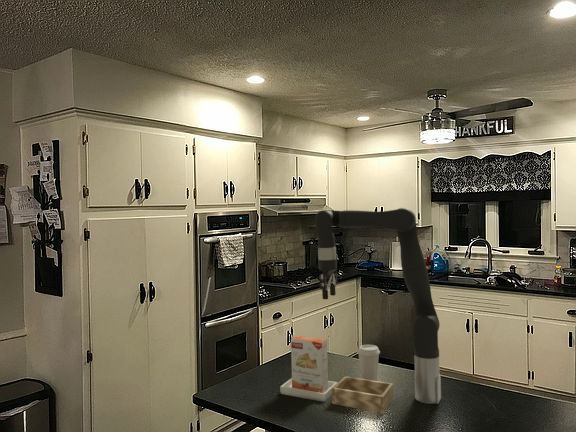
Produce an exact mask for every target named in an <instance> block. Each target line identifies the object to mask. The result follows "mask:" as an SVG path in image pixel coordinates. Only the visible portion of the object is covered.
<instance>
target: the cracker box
mask: <svg viewBox="0 0 576 432" xmlns="http://www.w3.org/2000/svg"><path fill="white" fill-rule="evenodd" d="M290 343H291V344H290V347H291V348H290V353H291V378H292V388H297V389H302V390H308V391H314V392H319V393H324V392H325V391H326V390H327V389H328V381H329V375H328V373H329V371H328V369H329V368H328V366H329V365H328V363H329V362H328V339H325V338H317V337H311V336H302V335H295V336H294V337H292V338H291V339H290Z"/></svg>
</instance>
